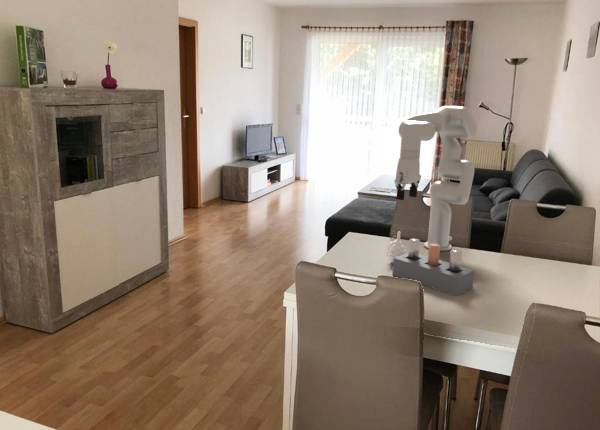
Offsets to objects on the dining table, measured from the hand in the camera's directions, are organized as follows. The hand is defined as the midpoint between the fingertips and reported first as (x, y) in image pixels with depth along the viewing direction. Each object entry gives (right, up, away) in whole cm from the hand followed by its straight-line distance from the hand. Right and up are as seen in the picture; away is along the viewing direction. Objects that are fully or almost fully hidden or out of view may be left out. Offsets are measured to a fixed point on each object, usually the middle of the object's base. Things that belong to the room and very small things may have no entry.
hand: (406, 198), depth 201 cm
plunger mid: (+9, -26, -7) cm, 29 cm away
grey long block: (+8, -32, -6) cm, 34 cm away
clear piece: (+15, -28, -14) cm, 34 cm away
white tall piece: (-2, -27, +14) cm, 31 cm away
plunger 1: (+2, -24, -1) cm, 25 cm away
